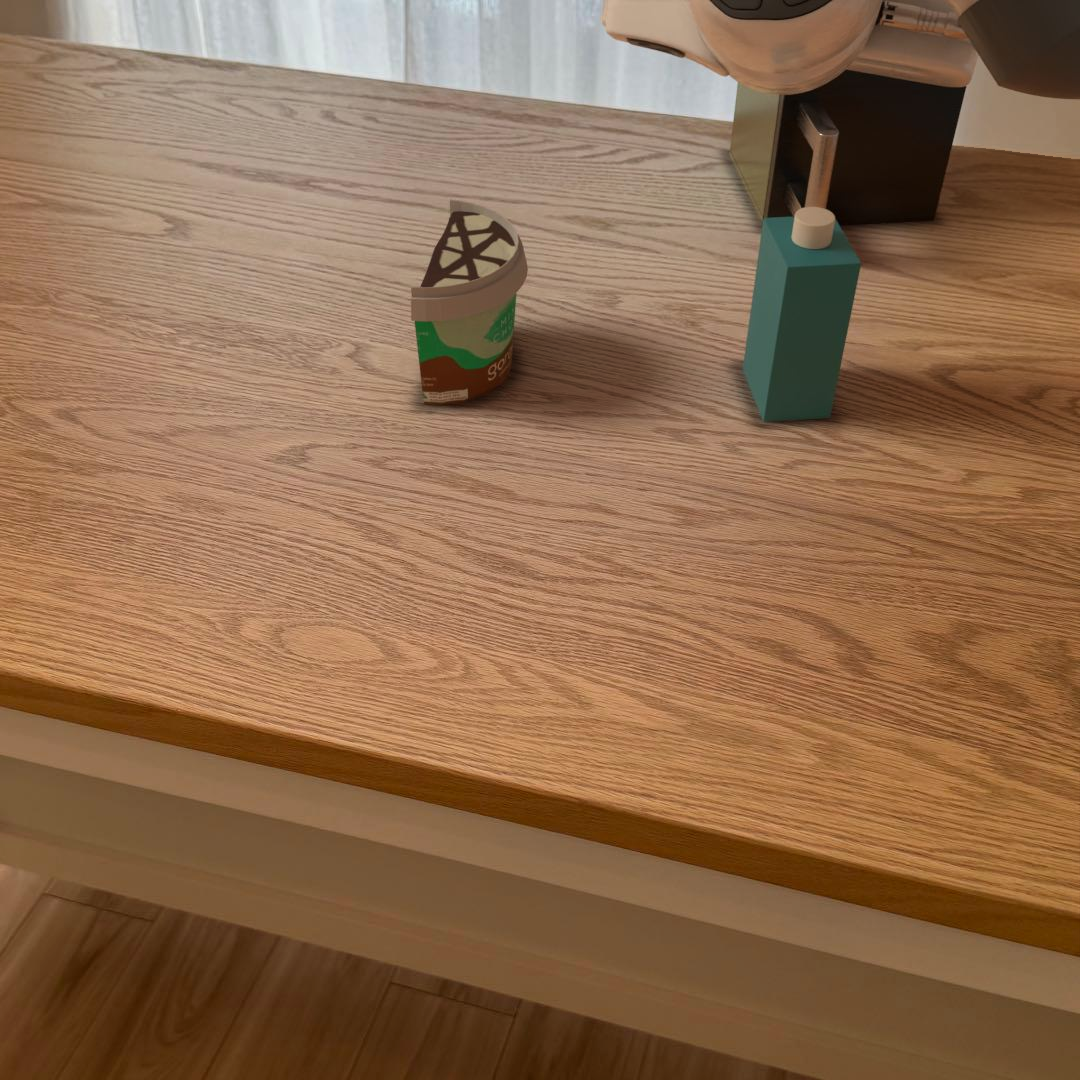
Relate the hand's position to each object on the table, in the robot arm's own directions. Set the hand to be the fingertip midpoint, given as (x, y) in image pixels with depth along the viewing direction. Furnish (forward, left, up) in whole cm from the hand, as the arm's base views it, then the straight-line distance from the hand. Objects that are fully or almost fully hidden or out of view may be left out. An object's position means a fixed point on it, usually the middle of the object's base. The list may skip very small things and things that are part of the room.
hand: (791, 37), depth 73 cm
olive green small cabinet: (-12, -23, -22) cm, 34 cm away
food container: (+19, +1, -22) cm, 29 cm away
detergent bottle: (-1, +6, -22) cm, 23 cm away
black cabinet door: (-12, -13, -22) cm, 28 cm away
